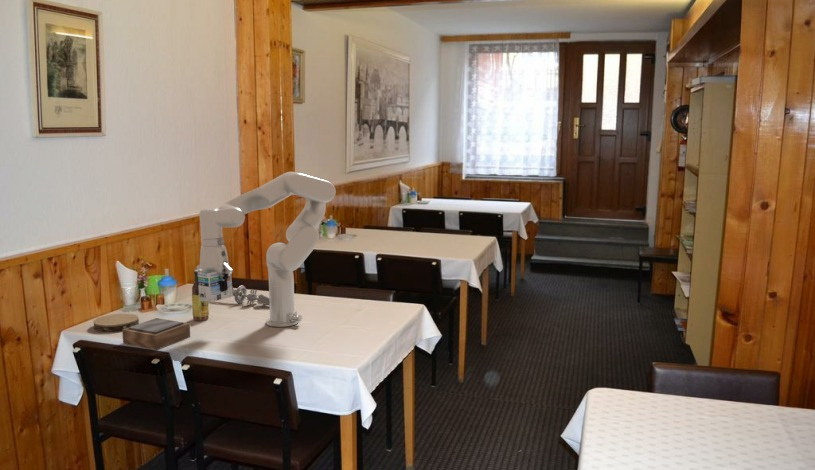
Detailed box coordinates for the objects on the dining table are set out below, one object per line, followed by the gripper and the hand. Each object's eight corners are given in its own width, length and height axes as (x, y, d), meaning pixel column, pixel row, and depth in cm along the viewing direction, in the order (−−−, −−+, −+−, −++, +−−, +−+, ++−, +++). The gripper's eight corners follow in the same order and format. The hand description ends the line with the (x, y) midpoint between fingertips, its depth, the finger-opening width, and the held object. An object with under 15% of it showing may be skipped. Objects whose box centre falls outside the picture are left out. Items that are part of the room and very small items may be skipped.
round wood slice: (140, 319, 267) (139, 312, 266) (137, 330, 252) (137, 323, 251) (96, 322, 262) (96, 315, 261) (91, 334, 247) (90, 327, 246)
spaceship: (216, 279, 301) (205, 276, 294) (281, 295, 288) (271, 292, 280) (211, 296, 300) (200, 293, 292) (275, 313, 286) (266, 310, 279)
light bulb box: (211, 303, 240) (209, 273, 238) (198, 300, 243) (196, 271, 241) (233, 296, 249) (231, 267, 247) (220, 294, 252) (218, 266, 250)
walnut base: (190, 336, 244) (189, 321, 243) (156, 349, 230) (155, 334, 229) (157, 330, 251) (156, 316, 250) (123, 343, 236) (122, 328, 235)
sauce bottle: (204, 322, 262) (202, 272, 259) (189, 321, 263) (187, 271, 260) (212, 317, 268) (210, 269, 265) (198, 316, 270) (195, 268, 266)
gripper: (238, 241, 242) (241, 289, 245) (201, 239, 249) (204, 285, 252) (224, 245, 235) (227, 294, 238) (186, 242, 243) (190, 290, 246)
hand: (215, 289), depth 245 cm, fingers closed on light bulb box, 7 cm apart
